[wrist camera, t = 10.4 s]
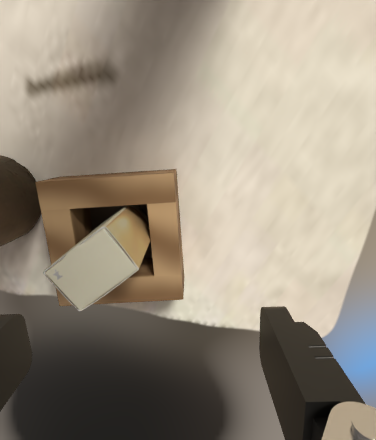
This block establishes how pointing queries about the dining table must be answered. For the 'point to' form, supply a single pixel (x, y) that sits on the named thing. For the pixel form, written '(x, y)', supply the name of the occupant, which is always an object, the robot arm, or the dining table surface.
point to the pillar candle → (16, 200)
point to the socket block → (104, 208)
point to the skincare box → (102, 258)
